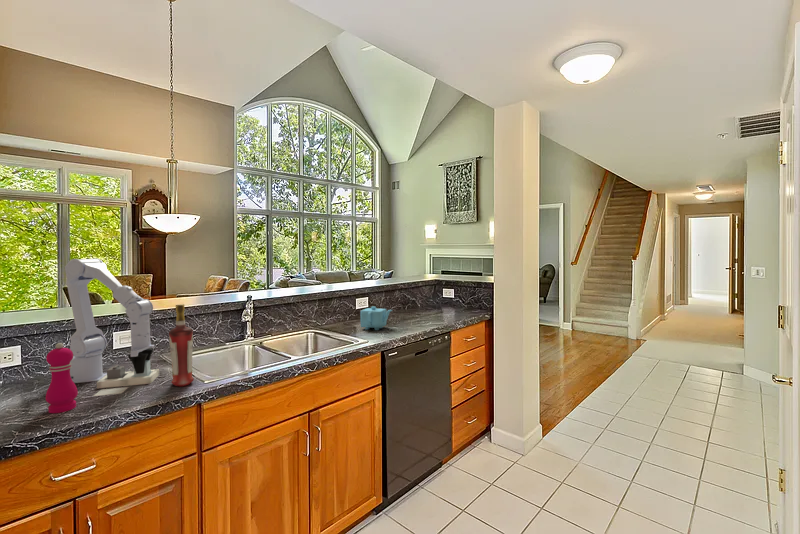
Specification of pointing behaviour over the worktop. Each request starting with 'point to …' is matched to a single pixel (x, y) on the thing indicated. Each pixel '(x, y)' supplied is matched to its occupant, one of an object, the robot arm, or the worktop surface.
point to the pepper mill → (61, 381)
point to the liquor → (181, 350)
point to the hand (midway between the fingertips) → (142, 371)
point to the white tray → (124, 378)
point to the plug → (146, 370)
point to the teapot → (374, 318)
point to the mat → (111, 391)
